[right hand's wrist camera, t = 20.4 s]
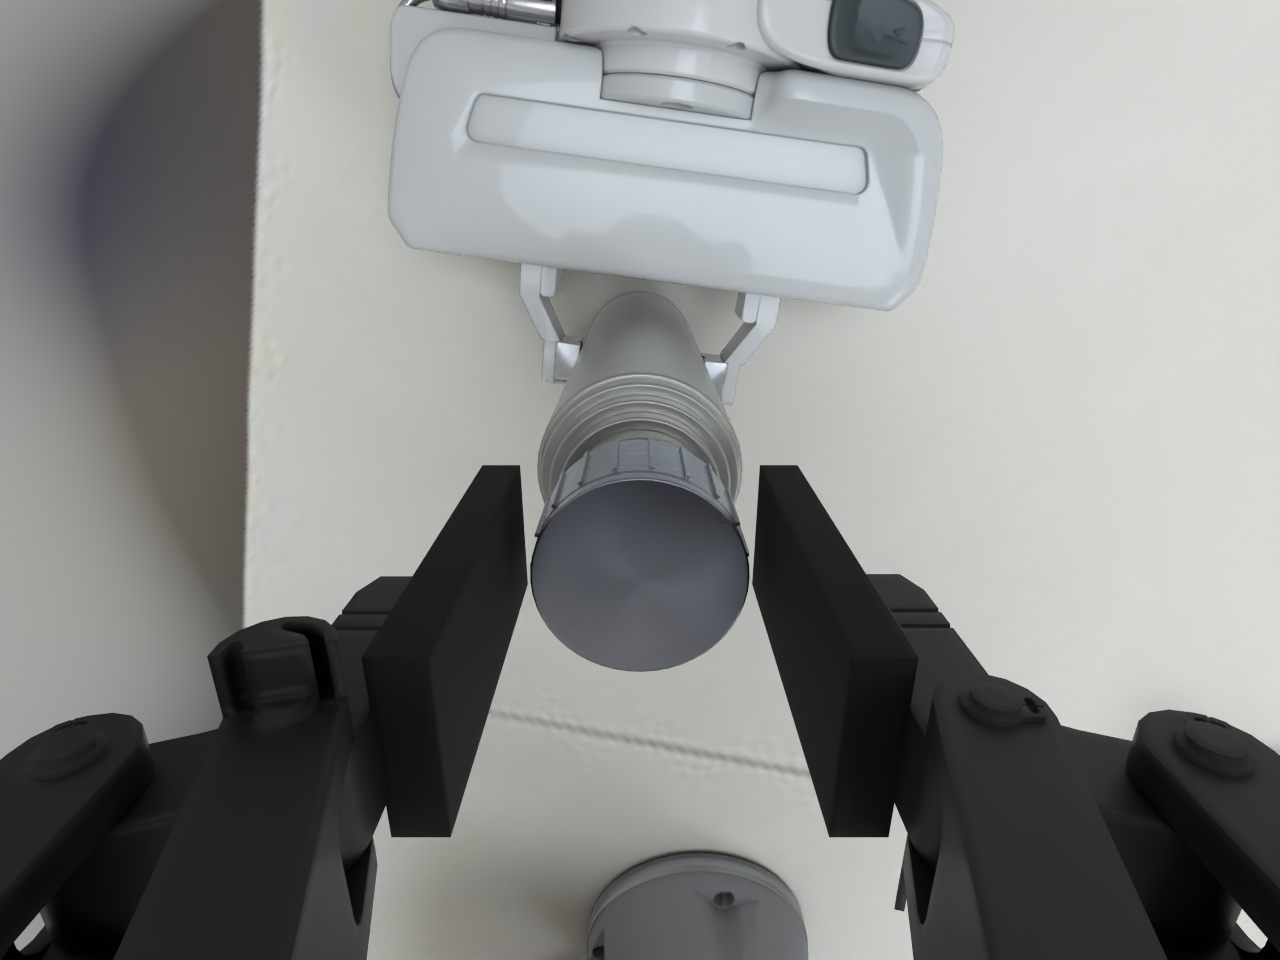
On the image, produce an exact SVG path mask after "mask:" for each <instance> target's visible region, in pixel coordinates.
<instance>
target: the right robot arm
mask: <svg viewBox="0 0 1280 960" xmlns="http://www.w3.org/2000/svg"><path fill="white" fill-rule="evenodd" d="M527 585H528V582H527V566H526V551H525V536H524V520H523V505H522V489H521V474H520V465H482V467H481V469H480V470H479V472H478V473H477V475H476V477H475V478H474V480H473V481H472V483H471V485H470V486H469V488H468V489H467V491H466V492H465V494H464V496H463V497H462V499H461V500H460V502H459V504H458V505H457V507H456V508H455V510H454V512H453V513H452V515H451V516H450V518H449V519H448V521H447V523H446V524H445V526H444V527H443V529H442V531H441V532H440V534H439V535H438V537H437V539H436V540H435V542H434V543H433V545H432V546H431V548H430V550H429V551H428V553H427V554H426V556H425V558H424V559H423V561H422V562H421V564H420V566H419V567H418V569H417V570H416V572H415V573H414V575H413V577H379V578H378V579H376V580H375V581H373V582H372V583H370V584H368V585H367V586H365V587H364V588H362V589H361V590H359V591H358V592H356V593H355V595H354V596H353V597H352V599H351V600H350V601H349V603H348V604H347V605H346V607H345V608H344V609H343V611H342V615H339V616H338V617H337V619H336V620H335V621H334V623H333V624H332V625H330V624H329V623H328V622H327V621H325V620H322V619H317V618H313V617H309V616H301V617H283V618H278V619H273V620H269V621H264V622H260V623H258V624H255V625H253V626H250V627H247V628H245V629H242V630H240V631H238V632H236V633H234V634H233V635H231V636H230V637H228V638H226V639H225V640H223V641H222V642H220V643H219V644H218V645H217V646H216V647H215V648H214V649H213V651H212V652H211V653H210V654H209V655H208V656H207V657H208V661H209V665H210V669H211V673H212V676H213V680H214V684H215V688H216V692H217V696H218V699H219V703H220V707H221V711H222V715H223V720H222V722H221V724H220V726H219V728H218V729H215V730H212V731H208V732H204V733H200V734H195V735H191V736H186V737H181V738H176V739H171V740H166V741H162V742H157V743H152V744H148V741H147V737H146V734H145V731H144V728H143V725H142V724H141V723H140V722H139V721H138V720H137V719H135V718H134V717H133V716H130V715H124V714H117V713H108V714H99V715H91V716H85V717H81V718H76V719H74V720H72V721H71V720H69V721H67V722H64V723H61V724H58V725H56V726H54V727H52V728H51V729H49V730H46V731H44V732H42V733H40V734H38V735H36V736H34V737H32V738H30V739H28V740H27V741H26V742H24V743H23V744H21V745H20V746H18V747H17V748H16V749H14V750H13V751H11V752H10V753H8V754H7V755H6V756H4V757H3V758H2V759H1V760H0V960H366V959H367V950H368V942H369V933H370V924H371V916H372V907H373V898H374V890H375V881H376V872H377V859H376V852H375V846H374V840H373V834H374V832H375V829H376V827H377V825H378V822H379V820H380V818H381V815H382V813H383V811H384V808H385V806H386V807H387V813H388V819H389V825H390V831H391V837H451V834H452V831H453V827H454V824H455V821H456V818H457V814H458V811H459V808H460V804H461V801H462V798H463V795H464V791H465V788H466V785H467V781H468V778H469V775H470V772H471V768H472V765H473V762H474V759H475V755H476V752H477V749H478V745H479V742H480V739H481V736H482V732H483V729H484V726H485V722H486V719H487V716H488V713H489V709H490V706H491V703H492V699H493V696H494V693H495V690H496V686H497V683H498V680H499V676H500V673H501V670H502V667H503V663H504V660H505V657H506V653H507V650H508V647H509V644H510V640H511V637H512V634H513V631H514V627H515V624H516V621H517V617H518V614H519V611H520V608H521V604H522V601H523V598H524V594H525V591H526V588H527ZM752 585H753V588H754V591H755V594H756V598H757V601H758V604H759V608H760V611H761V614H762V617H763V621H764V624H765V627H766V630H767V634H768V637H769V640H770V644H771V647H772V650H773V653H774V657H775V660H776V663H777V667H778V670H779V673H780V676H781V680H782V683H783V686H784V690H785V693H786V696H787V699H788V703H789V706H790V709H791V713H792V716H793V719H794V722H795V726H796V729H797V732H798V736H799V739H800V742H801V745H802V749H803V752H804V755H805V758H806V762H807V765H808V768H809V772H810V775H811V778H812V781H813V785H814V788H815V791H816V795H817V798H818V801H819V804H820V808H821V811H822V814H823V818H824V821H825V824H826V827H827V831H828V834H829V837H889V831H890V825H891V819H892V813H893V807H894V803H895V805H896V807H897V809H898V812H899V814H900V816H901V819H902V821H903V823H904V826H905V828H906V830H907V833H908V835H907V840H906V846H905V851H904V857H903V862H902V868H901V873H900V879H899V884H898V890H897V896H896V903H895V909H896V910H900V911H904V909H905V904H906V898H907V905H908V914H909V923H910V931H911V940H912V949H913V957H914V960H1280V755H1278V754H1277V753H1276V752H1275V751H1273V750H1272V749H1271V748H1269V747H1268V746H1266V745H1265V744H1263V743H1262V742H1260V741H1259V740H1258V739H1256V738H1255V737H1253V736H1252V735H1250V734H1248V733H1246V732H1244V731H1242V730H1239V729H1237V728H1235V727H1233V726H1231V725H1229V724H1228V723H1226V722H1224V721H1221V720H1218V719H1215V718H1212V717H1210V718H1209V717H1207V716H1206V715H1201V714H1197V713H1191V712H1183V711H1175V710H1163V711H1157V712H1150V713H1148V714H1147V715H1146V716H1144V717H1143V718H1142V719H1141V720H1139V721H1138V725H1137V728H1136V731H1135V734H1134V737H1133V741H1129V740H1124V739H1119V738H1114V737H1110V736H1105V735H1100V734H1095V733H1090V732H1085V731H1081V730H1076V729H1073V728H1069V727H1065V726H1062V725H1060V723H1059V721H1058V718H1057V717H1056V715H1055V714H1054V713H1053V711H1052V710H1051V709H1050V707H1049V706H1048V705H1047V703H1046V702H1045V701H1043V700H1042V699H1041V698H1039V697H1038V696H1036V695H1035V694H1034V693H1032V692H1031V691H1029V690H1028V689H1026V688H1024V687H1022V686H1020V685H1017V684H1015V683H1013V682H1011V681H1008V680H1006V679H1003V678H998V677H994V676H990V675H988V674H987V672H986V671H985V670H984V668H983V667H982V666H981V664H980V663H979V662H978V660H977V659H976V658H975V656H974V655H973V654H972V652H971V651H970V650H969V649H968V647H967V646H966V645H965V643H964V642H963V641H962V639H961V638H960V637H959V635H958V634H957V633H956V631H955V630H954V629H953V628H950V623H949V622H948V621H947V620H946V618H945V617H944V616H943V614H942V613H941V612H938V608H937V606H936V605H935V604H934V602H933V601H932V600H931V598H930V597H929V596H928V594H927V593H926V592H925V590H923V589H922V588H920V587H919V586H917V585H915V584H914V583H912V582H911V581H909V580H908V579H906V578H905V577H903V576H901V575H900V574H866V573H865V572H864V570H863V569H862V567H861V566H860V564H859V562H858V561H857V559H856V558H855V556H854V554H853V553H852V551H851V550H850V548H849V546H848V545H847V543H846V542H845V540H844V539H843V537H842V535H841V534H840V532H839V531H838V529H837V527H836V526H835V524H834V523H833V521H832V519H831V518H830V516H829V515H828V513H827V512H826V510H825V508H824V507H823V505H822V504H821V502H820V500H819V499H818V497H817V496H816V494H815V492H814V491H813V489H812V488H811V486H810V485H809V483H808V481H807V480H806V478H805V477H804V475H803V473H802V472H801V470H800V469H799V467H798V465H760V474H759V490H758V505H757V520H756V536H755V551H754V566H753V582H752ZM1241 909H1243V910H1244V911H1245V912H1246V914H1247V915H1248V916H1249V917H1250V918H1251V919H1252V921H1253V922H1254V923H1255V924H1256V925H1257V926H1258V928H1259V929H1260V930H1261V931H1262V932H1263V933H1264V935H1265V936H1266V937H1267V938H1268V940H1267V942H1266V944H1265V946H1264V947H1263V948H1262V949H1261V948H1259V947H1258V946H1257V945H1256V944H1255V943H1254V942H1253V941H1252V940H1251V939H1250V938H1249V937H1248V936H1247V935H1246V934H1245V933H1244V931H1243V930H1242V929H1241V928H1240V927H1239V925H1238V924H1237V923H1236V921H1237V919H1238V916H1239V914H1240V912H1241ZM39 912H40V914H41V916H42V919H43V921H44V923H45V926H44V927H43V929H42V930H41V931H40V932H39V933H38V935H37V936H36V937H35V938H34V939H33V940H32V941H31V942H30V943H29V944H28V945H27V946H26V947H24V948H23V949H22V950H21V951H19V950H17V949H16V946H15V944H14V941H15V940H16V939H17V938H18V937H19V935H20V934H21V933H22V932H23V931H24V930H25V928H26V927H27V926H28V925H29V924H30V922H31V921H32V920H33V919H34V918H35V917H36V915H37V914H38V913H39ZM587 957H588V960H808V945H807V935H806V930H805V926H804V921H803V917H802V913H801V910H800V907H799V904H798V902H797V900H796V898H795V897H794V895H793V894H792V892H791V891H790V890H789V889H788V888H787V886H786V885H785V884H784V883H783V882H782V881H781V880H779V879H778V878H777V877H776V876H774V875H773V874H772V873H770V872H768V871H767V870H765V869H763V868H761V867H759V866H757V865H755V864H753V863H750V862H748V861H745V860H742V859H739V858H735V857H731V856H726V855H720V854H711V853H687V854H678V855H672V856H667V857H662V858H658V859H655V860H652V861H649V862H646V863H644V864H642V865H639V866H637V867H635V868H633V869H631V870H629V871H628V872H626V873H625V874H623V875H621V876H620V877H619V878H617V879H616V880H615V881H614V882H613V883H611V884H610V885H609V886H608V887H607V888H606V890H605V891H604V892H603V893H602V894H601V896H600V897H599V899H598V900H597V902H596V904H595V906H594V908H593V910H592V913H591V915H590V920H589V927H588V941H587Z"/></svg>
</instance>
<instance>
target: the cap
mask: <svg viewBox="0 0 1280 960" xmlns="http://www.w3.org/2000/svg"><path fill="white" fill-rule="evenodd" d="M535 537H538V538H537V542H536V545H535V548H534V552H533V555H532V561H531V564H530V575H531V587H532V594H533V597H534V600H535V603H536V606H537V608H538V611H539V613H540V615H541V617H542V619H543V620H544V622H545V623H546V625H547V626H548V628H549V629H550V630H551V631H552V633H553V634H554V635H555V636H556V637H557V638H558V639H559V640H560V641H561V642H562V643H563V644H564V645H565V646H567V647H568V648H569V649H571V650H572V651H574V652H575V653H576V654H578V655H580V656H582V657H583V658H585V659H587V660H589V661H591V662H594V663H597V664H599V665H602V666H605V667H609V668H613V669H618V670H625V671H640V672H643V671H656V670H662V669H667V668H671V667H674V666H678V665H681V664H683V663H686V662H688V661H690V660H693V659H695V658H696V657H698V656H700V655H702V654H703V653H705V652H706V651H708V650H709V649H710V648H712V647H713V646H714V645H716V644H717V643H718V642H719V641H720V640H721V639H722V638H723V637H724V636H725V635H726V634H727V632H728V631H729V630H730V629H731V627H732V626H733V625H734V623H735V621H736V620H737V618H738V616H739V615H740V612H741V610H742V608H743V605H744V603H745V599H746V596H747V592H748V585H749V562H748V557H749V552H748V549H747V546H746V542H745V539H744V536H743V533H742V530H741V527H740V521H739V518H738V515H737V512H736V509H735V506H734V503H733V500H732V497H731V494H730V491H729V489H728V488H726V489H725V487H724V485H723V484H722V482H721V481H720V479H719V478H718V476H717V475H716V474H715V473H714V472H713V470H712V466H711V465H710V464H709V463H708V464H705V463H704V462H703V461H702V460H701V459H699V458H698V457H697V456H695V455H693V454H692V453H690V452H688V451H687V450H685V447H683V446H680V447H678V446H675V445H672V444H669V443H665V442H661V441H655V440H653V438H648V440H645V439H634V440H624V441H619V439H618V440H615V442H614V443H611V444H608V445H605V446H602V447H599V448H597V449H595V450H593V451H591V452H588V451H587V452H585V453H584V456H583V457H582V458H580V459H579V460H578V461H577V462H576V463H574V464H573V465H572V466H571V467H570V468H569V469H568V470H567V471H566V473H565V472H562V473H561V474H560V478H559V481H558V483H557V485H556V487H555V489H554V491H553V493H552V495H551V497H550V498H547V500H546V503H545V506H544V509H543V512H542V515H541V518H540V521H539V524H538V527H537V530H536V533H535Z"/></svg>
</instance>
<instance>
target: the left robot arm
mask: <svg viewBox="0 0 1280 960" xmlns="http://www.w3.org/2000/svg"><path fill="white" fill-rule="evenodd" d="M425 1H429V0H402V1H401V3H400V4H399V6H398V7H397V8H396V10H395V12H394V15H393V18H392V22H391V77H392V82H393V86H394V89H395V91H396V94H397V96H398V98H399V104H398V110H397V116H396V122H395V129H394V137H393V144H392V153H391V164H390V175H389V192H388V215H389V219H390V221H391V224H392V225H393V227H394V228H395V229H396V231H397V232H398V234H399V235H400V237H401V238H402V240H403V241H404V242H405V244H406V245H407V246H408V247H410V248H412V249H417V250H424V251H431V252H439V253H446V254H454V255H462V256H469V257H477V258H484V259H492V260H500V261H507V262H515V263H521V274H520V290H519V294H520V296H521V298H522V301H523V303H524V305H525V307H526V309H527V311H528V313H529V315H530V317H531V319H532V321H533V324H534V326H535V328H536V330H537V332H538V334H539V336H540V338H541V340H544V350H543V364H542V382H548V383H558V384H566V383H567V381H568V378H569V376H570V374H571V372H572V369H573V367H574V365H575V362H576V360H577V358H578V356H579V353H580V351H581V349H582V346H583V338H579V337H572V336H565V334H564V332H563V329H562V327H561V325H560V323H559V320H558V318H557V316H556V313H555V311H554V309H553V306H552V304H551V302H550V299H549V297H553V296H554V295H555V294H556V293H557V292H558V291H559V290H560V288H561V277H562V269H568V270H576V271H583V272H591V273H599V274H606V275H614V276H622V277H629V278H637V279H644V280H652V281H660V282H667V283H675V284H682V285H690V286H698V287H705V288H713V289H721V290H728V291H736V292H738V296H737V303H736V309H735V313H736V315H737V316H738V317H739V318H740V319H741V320H742V321H743V322H744V323H743V325H742V326H741V327H740V329H739V330H738V331H737V332H736V334H735V335H734V336H733V338H732V339H731V340H730V341H729V343H728V344H727V345H726V347H725V348H724V349H723V351H722V352H721V353H720V355H714V354H704V353H701V356H702V358H703V361H704V363H705V365H706V367H707V370H708V372H709V374H710V377H711V379H712V381H713V383H714V386H715V388H716V390H717V393H718V395H719V397H720V399H721V402H722V404H726V405H732V403H733V400H734V396H735V390H736V384H737V379H738V373H739V368H740V365H744V363H745V362H746V361H747V360H748V359H749V358H750V356H751V355H752V354H753V353H754V352H755V350H756V349H757V348H758V347H759V346H760V344H761V343H762V342H763V341H764V340H765V339H766V337H767V336H768V335H769V334H770V333H771V331H772V330H773V329H774V328H775V325H776V320H777V315H778V310H779V305H780V300H781V298H789V299H797V300H804V301H812V302H820V303H827V304H835V305H842V306H850V307H858V308H865V309H873V310H881V311H891V310H893V309H895V308H896V307H897V306H898V305H900V304H901V303H902V302H903V301H904V300H905V299H906V298H907V297H908V296H909V295H910V294H911V293H912V292H914V291H915V289H916V288H917V286H918V284H919V282H920V279H921V276H922V273H923V269H924V266H925V262H926V258H927V254H928V249H929V244H930V240H931V235H932V230H933V225H934V219H935V213H936V207H937V201H938V195H939V186H940V178H941V170H942V161H943V138H942V131H941V126H940V122H939V119H938V117H937V115H936V113H935V111H934V109H933V108H932V106H931V105H930V104H929V103H928V102H927V101H926V99H924V98H923V97H922V96H921V95H919V94H917V92H918V91H920V90H922V89H923V88H925V87H927V86H928V85H929V84H931V83H932V82H933V81H935V80H936V79H937V78H938V77H939V76H940V75H941V73H942V72H943V70H944V68H945V66H946V64H947V61H948V58H949V55H950V52H951V48H952V44H953V38H954V24H953V21H952V19H951V17H950V16H949V14H948V13H947V12H946V11H945V10H944V9H942V8H941V7H940V6H938V5H937V4H935V3H934V2H932V1H930V0H432V2H433V5H434V7H435V8H436V9H438V10H436V9H429V8H422V7H416V6H417V5H419V4H421V3H423V2H425ZM477 15H480V16H477ZM484 15H485V16H488V17H484ZM492 16H493V18H490V17H492ZM558 24H559V27H560V30H559V42H558V30H557V28H558Z"/></svg>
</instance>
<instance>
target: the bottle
mask: <svg viewBox="0 0 1280 960" xmlns="http://www.w3.org/2000/svg"><path fill="white" fill-rule="evenodd" d="M648 438H653V440H655V441H661V442H665V443H669V444H672V445H675V446H678V447H680V446H683V447H685V450H687V451H688V452H690V453H692V454H693V455H695V456H697V457H698V458H699V459H701V460H702V461H703V462H704V463H705V464H708V463H709V464H710V465H711V466H712V470H713V472H714V473H715V474H716V475H717V476H718V478H719V479H720V481H721V482H722V484H723V485H724V487H725V489H726V488H728V489H729V491H730V494H731V497H732V500H733V503H734V505H735V502H736V499H737V497H738V494H739V490H740V485H741V480H742V457H741V451H740V447H739V442H738V440H737V437H736V434H735V432H734V429H733V427H732V425H731V422H730V420H729V418H728V415H727V413H726V411H725V409H724V406H723V404H722V402H721V399H720V397H719V395H718V393H717V390H716V388H715V386H714V383H713V381H712V379H711V377H710V374H709V372H708V370H707V367H706V365H705V363H704V361H703V358H702V356H701V354H700V351H699V349H698V347H697V345H696V342H695V340H694V338H693V336H692V333H691V331H690V329H689V326H688V324H687V322H686V320H685V318H684V316H683V315H682V313H681V312H680V311H679V310H678V309H677V308H676V306H675V305H673V304H672V303H671V302H670V301H668V300H666V299H665V298H663V297H661V296H658V295H655V294H652V293H646V292H634V293H628V294H624V295H622V296H619V297H617V298H615V299H613V300H612V301H610V302H609V303H608V304H606V305H605V306H604V307H603V308H602V309H601V311H600V312H599V313H598V315H597V316H596V318H595V320H594V321H593V324H592V326H591V328H590V331H589V333H588V335H587V337H586V340H585V342H584V344H583V346H582V349H581V351H580V353H579V356H578V358H577V360H576V362H575V365H574V367H573V369H572V372H571V374H570V376H569V378H568V381H567V383H566V385H565V388H564V390H563V392H562V394H561V397H560V399H559V401H558V404H557V406H556V408H555V410H554V413H553V415H552V417H551V419H550V422H549V424H548V426H547V429H546V431H545V434H544V436H543V439H542V442H541V446H540V450H539V455H538V481H539V486H540V491H541V494H542V497H543V500H544V503H546V500H547V498H550V497H551V495H552V493H553V491H554V489H555V487H556V485H557V483H558V481H559V478H560V474H561V473H562V472H565V473H566V471H567V470H568V469H569V468H570V467H571V466H572V465H573V464H574V463H576V462H577V461H578V460H579V459H580V458H582V457H583V456H584V453H585V452H587V451H588V452H591V451H593V450H595V449H597V448H599V447H602V446H605V445H608V444H611V443H614V442H615V440H618V439H619V441H624V440H634V439H645V440H648Z"/></svg>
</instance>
